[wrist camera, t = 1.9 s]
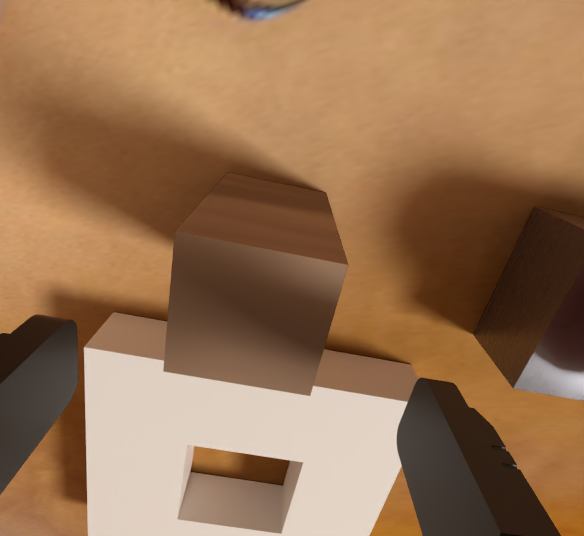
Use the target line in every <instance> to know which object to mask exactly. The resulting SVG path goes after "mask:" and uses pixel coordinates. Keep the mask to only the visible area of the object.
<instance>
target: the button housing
mask: <svg viewBox="0 0 584 536" xmlns="http://www.w3.org/2000/svg"><path fill="white" fill-rule="evenodd" d="M474 336H475V338H476V339H477V340H478V342H479V343H480V344H481V346H482V347H483V348H484V350H485V351H486V353H487V354H488V355H489V357H490V358H491V359H492V361H493V362H494V363H495V365H496V366H497V367H498V369H499V370H500V371H501V373H502V374H503V375H504V377H505V378H506V379H507V381H508V382H509V383H510V385H511V386H512V387H513V388H514V389H519V390H525V391H531V392H536V393H542V394H548V395H553V396H559V397H565V398H571V399H576V400H582V401H584V217H581V216H576V215H571V214H567V213H562V212H557V211H553V210H548V209H543V208H539V207H534V209H533V212H532V214H531V216H530V218H529V220H528V222H527V224H526V226H525V228H524V230H523V232H522V235H521V237H520V239H519V241H518V243H517V245H516V247H515V249H514V251H513V253H512V255H511V258H510V260H509V262H508V264H507V266H506V268H505V270H504V272H503V274H502V276H501V278H500V281H499V283H498V285H497V287H496V289H495V291H494V293H493V295H492V297H491V299H490V302H489V304H488V306H487V308H486V310H485V312H484V314H483V316H482V318H481V320H480V322H479V325H478V327H477V329H476V331H475V333H474Z"/></svg>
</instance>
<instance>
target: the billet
mask: <svg viewBox="0 0 584 536" xmlns="http://www.w3.org/2000/svg"><path fill="white" fill-rule="evenodd" d="M347 268H348V262H347V259H346V256H345V252H344V249H343V246H342V243H341V239H340V236H339V233H338V230H337V227H336V223H335V220H334V217H333V214H332V210H331V207H330V204H329V201H328V197H327V194H326V193H325V192H320V191H316V190H311V189H306V188H301V187H296V186H292V185H287V184H282V183H277V182H272V181H268V180H263V179H258V178H253V177H248V176H244V175H239V174H234V173H229V172H228V173H227V174H226V175H225V176H224V177H223V178H222V179H221V181H220V182H219V183H218V184H217V185H216V186H215V187H214V188H213V189H212V191H211V192H210V193H209V194H208V195H207V196H206V197H205V198H204V199H203V201H202V202H201V203H200V204H199V205H198V206H197V207H196V208H195V209H194V211H193V212H192V213H191V214H190V215H189V216H188V217H187V218H186V219H185V221H184V222H183V223H182V224H181V225H180V226H179V227H178V228H177V229H176V231H175V236H174V248H173V260H172V272H171V284H170V296H169V308H168V320H167V332H166V344H165V356H164V368H163V372H169V373H175V374H181V375H187V376H193V377H199V378H205V379H211V380H217V381H223V382H229V383H235V384H241V385H247V386H253V387H259V388H265V389H271V390H277V391H283V392H288V393H294V394H300V395H306V396H310V395H311V392H312V388H313V385H314V381H315V378H316V374H317V371H318V368H319V364H320V361H321V357H322V354H323V350H324V347H325V344H326V340H327V337H328V333H329V330H330V326H331V323H332V320H333V316H334V313H335V309H336V306H337V302H338V299H339V295H340V292H341V289H342V285H343V282H344V278H345V275H346V271H347Z"/></svg>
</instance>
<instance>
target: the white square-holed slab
mask: <svg viewBox="0 0 584 536" xmlns="http://www.w3.org/2000/svg"><path fill="white" fill-rule="evenodd" d="M166 332H167V321H161V320H155V319H150V318H144V317H138V316H133V315H127V314H121V313H116V312H113V313H112V315H111V316H110V317H109V318H108V319H107V320H106V322H105V323H104V324H103V325H102V326H101V328H100V329H99V330H98V331H97V332H96V333H95V335H94V336H93V337H92V338H91V339H90V341H89V342H88V343H87V344H86V345H85V346H84V374H85V419H86V464H87V509H88V536H369V535H370V533H371V531H372V529H373V527H374V524H375V522H376V520H377V518H378V516H379V514H380V511H381V509H382V507H383V505H384V503H385V501H386V498H387V496H388V494H389V492H390V490H391V488H392V486H393V483H394V481H395V479H396V477H397V475H398V473H399V470H400V468H401V466H402V465H401V461H400V458H399V455H398V451H397V430H398V426H399V423H400V420H401V418H402V415H403V413H404V410H405V408H406V405H407V403H408V400H409V398H410V395H411V393H412V390H413V388H414V385H415V383H416V382H417V380H418V378H417V375H416V373H415V371H414V368H413V366H412V365H410V364H405V363H399V362H393V361H388V360H382V359H376V358H371V357H365V356H359V355H354V354H348V353H342V352H337V351H331V350H325V349H324V350H323V354H322V357H321V361H320V364H319V368H318V371H317V374H316V378H315V381H314V385H313V388H312V392H311V395H310V396H306V395H300V394H294V393H288V392H283V391H277V390H271V389H265V388H259V387H253V386H247V385H241V384H235V383H229V382H223V381H217V380H211V379H205V378H199V377H193V376H187V375H181V374H175V373H169V372H163V368H164V356H165V344H166ZM194 446H199V447H206V448H212V449H219V450H225V451H232V452H238V453H245V454H251V455H258V456H264V457H271V458H277V459H284V460H290V463H289V466H288V470H287V473H286V477H285V480H284V484H283V486H282V485H275V484H269V483H262V482H255V481H248V480H242V479H235V478H228V477H221V476H215V475H208V474H201V473H194V472H191V466H192V459H193V452H194Z"/></svg>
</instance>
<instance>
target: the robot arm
mask: <svg viewBox="0 0 584 536" xmlns="http://www.w3.org/2000/svg"><path fill="white" fill-rule="evenodd" d="M77 382H78V344H77V326H76V323H75V322H74V321H73V320H68V319H62V318H56V317H50V316H44V315H34V316H32V317H30V318H29V319H28V320H27V321H25V322H24V323H23V324H22V325H20V326H19V327H18V328H17V329H16V330H14V331H13V332H12V333H11V334H7V333H2V334H0V495H1V493H2V492H3V491H4V489H5V488H6V487H7V485H8V484H9V483H10V481H11V480H12V479H13V477H14V476H15V475H16V473H17V472H18V471H19V469H20V468H21V467H22V465H23V464H24V463H25V461H26V460H27V459H28V457H29V456H30V455H31V453H32V452H33V451H34V449H35V448H36V447H37V445H38V444H39V443H40V441H41V440H42V439H43V437H44V436H45V435H46V433H47V432H48V431H49V429H50V428H51V427H52V425H53V424H54V423H55V421H56V420H57V419H58V417H59V416H60V415H61V413H62V412H63V411H64V409H65V408H66V407H67V405H68V404H69V402H70V401H71V399H72V397H73V395H74V392H75V390H76V386H77ZM397 451H398V455H399V458H400V461H401V465H402V468H403V471H404V475H405V478H406V481H407V484H408V488H409V491H410V494H411V498H412V501H413V504H414V508H415V511H416V514H417V518H418V521H419V524H420V528H421V531H422V534H423V536H561V535H560V533H559V532H558V530H557V528H556V527H555V525H554V524H553V522H552V520H551V519H550V517H549V516H548V514H547V512H546V511H545V509H544V508H543V506H542V504H541V503H540V501H539V500H538V498H537V496H536V495H535V493H534V492H533V490H532V488H531V487H530V485H529V483H528V482H527V480H526V479H525V477H524V475H523V474H522V472H521V471H520V470H518V469H517V464H516V463H515V461H514V459H513V458H512V456H511V455H510V453H509V452H508V451H506V447H505V445H504V443H503V442H502V440H501V438H500V437H499V435H498V434H497V432H496V430H495V429H494V427H493V426H492V425H491V424H490V423H489V422H488V421H487V420H486V419H485V418H484V417H483V416H482V415H481V414H480V413H478V412H477V411H476V410H475V409H474V408H469V407H468V405H467V403H466V402H465V400H464V398H463V396H462V395H461V393H460V391H459V390H458V388H457V386H456V385H455V384H454V383H451V382H445V381H439V380H433V379H427V378H420V379H418V380H417V382H416V383H415V385H414V388H413V390H412V393H411V395H410V398H409V400H408V403H407V405H406V408H405V410H404V413H403V415H402V418H401V420H400V423H399V426H398V430H397Z"/></svg>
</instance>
